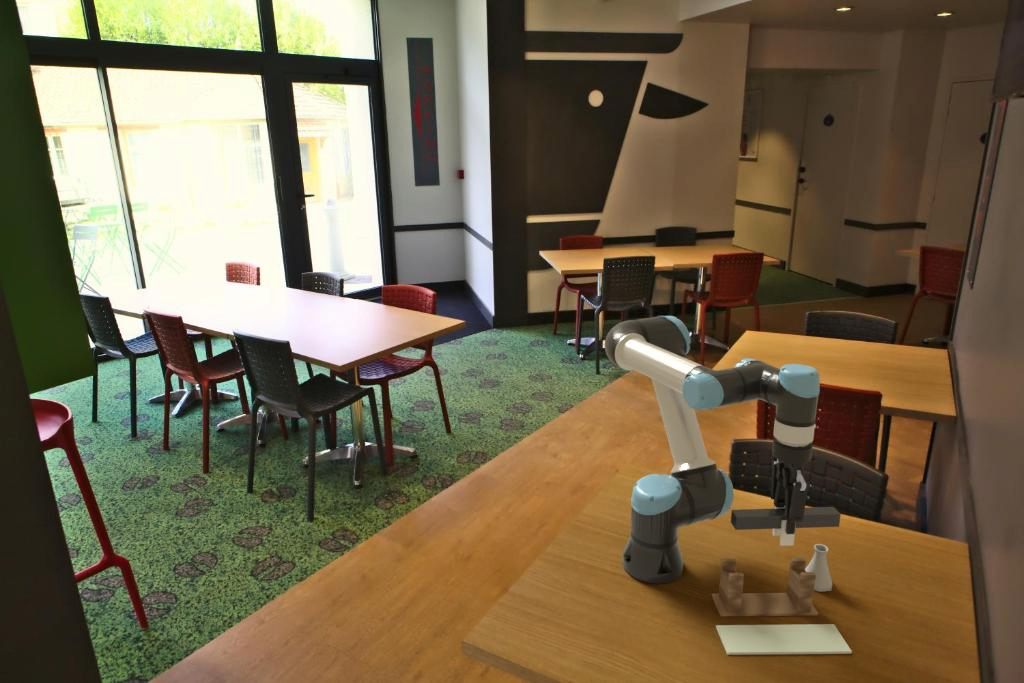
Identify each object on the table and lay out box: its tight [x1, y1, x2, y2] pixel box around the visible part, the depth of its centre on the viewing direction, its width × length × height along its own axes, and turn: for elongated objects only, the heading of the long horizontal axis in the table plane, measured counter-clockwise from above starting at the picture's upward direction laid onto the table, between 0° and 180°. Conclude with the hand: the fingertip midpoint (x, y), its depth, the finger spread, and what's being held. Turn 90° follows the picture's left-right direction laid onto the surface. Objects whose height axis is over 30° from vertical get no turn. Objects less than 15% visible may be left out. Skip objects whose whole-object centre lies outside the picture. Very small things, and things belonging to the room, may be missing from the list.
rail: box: [730, 506, 841, 531], centre depth 138 cm, size 22×3×3 cm, turn 91°
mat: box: [715, 623, 853, 656], centre depth 139 cm, size 26×8×1 cm, turn 90°
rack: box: [711, 557, 819, 617], centre depth 149 cm, size 22×7×10 cm, turn 90°
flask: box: [805, 543, 833, 593], centre depth 156 cm, size 7×7×10 cm
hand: (782, 539), depth 139 cm, fingers closed on rail, 3 cm apart
